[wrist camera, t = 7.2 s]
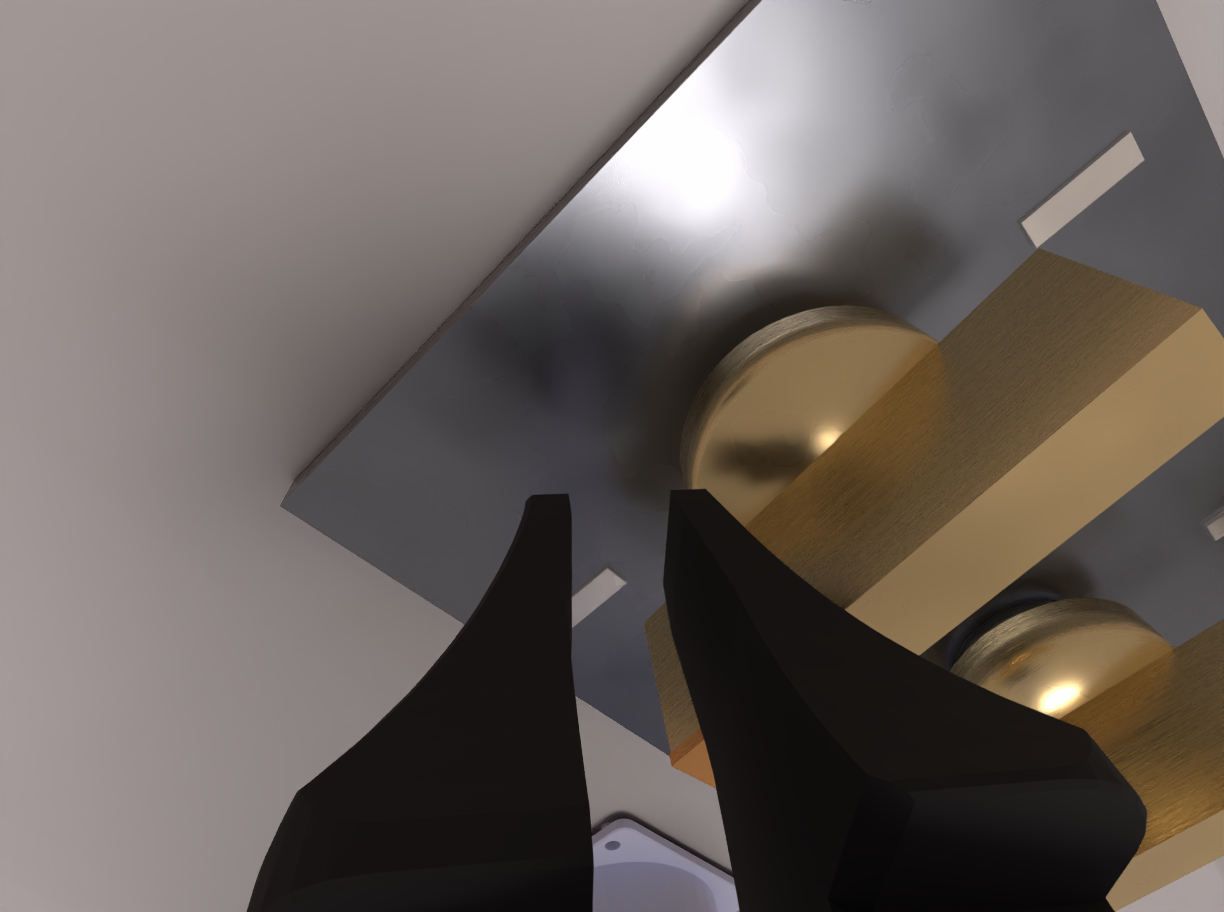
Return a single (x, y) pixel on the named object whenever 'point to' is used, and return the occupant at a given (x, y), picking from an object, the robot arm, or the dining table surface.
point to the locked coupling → (1126, 717)
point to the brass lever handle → (939, 446)
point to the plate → (796, 299)
